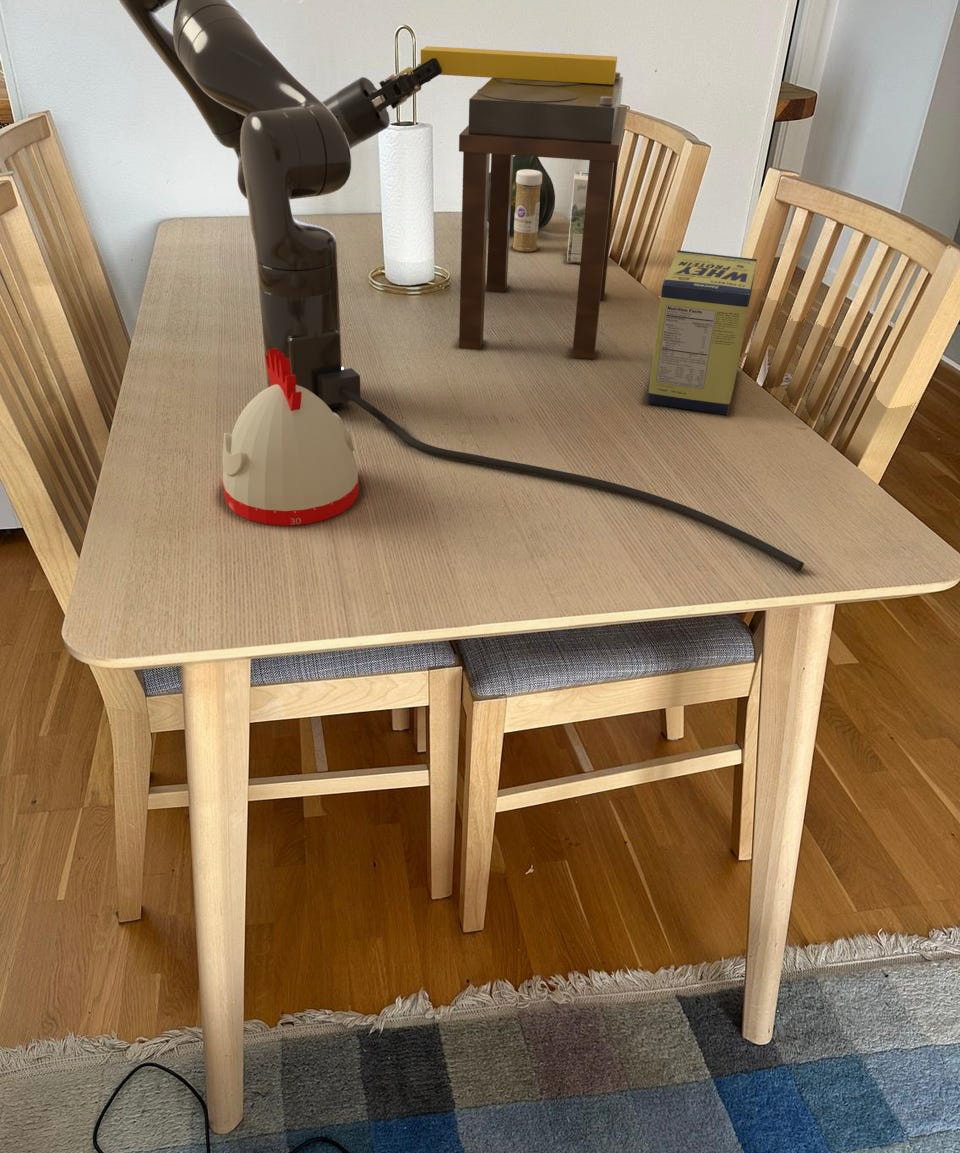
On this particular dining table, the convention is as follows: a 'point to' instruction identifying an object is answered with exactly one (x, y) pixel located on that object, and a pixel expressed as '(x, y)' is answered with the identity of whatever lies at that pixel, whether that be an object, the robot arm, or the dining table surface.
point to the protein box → (700, 331)
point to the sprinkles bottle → (527, 210)
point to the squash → (545, 190)
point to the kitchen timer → (288, 455)
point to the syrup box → (577, 217)
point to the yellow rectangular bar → (523, 65)
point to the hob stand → (505, 128)
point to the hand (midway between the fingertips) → (444, 60)
